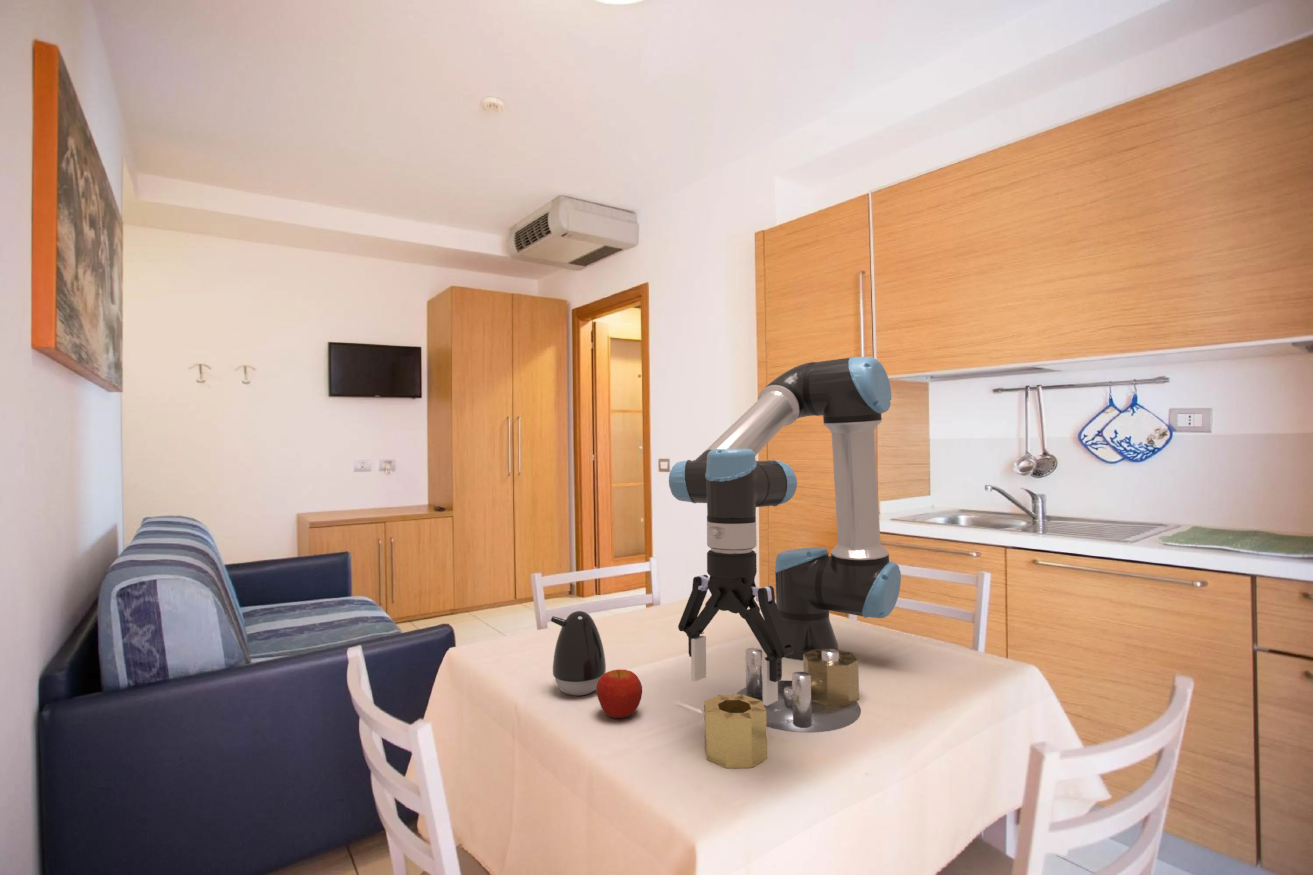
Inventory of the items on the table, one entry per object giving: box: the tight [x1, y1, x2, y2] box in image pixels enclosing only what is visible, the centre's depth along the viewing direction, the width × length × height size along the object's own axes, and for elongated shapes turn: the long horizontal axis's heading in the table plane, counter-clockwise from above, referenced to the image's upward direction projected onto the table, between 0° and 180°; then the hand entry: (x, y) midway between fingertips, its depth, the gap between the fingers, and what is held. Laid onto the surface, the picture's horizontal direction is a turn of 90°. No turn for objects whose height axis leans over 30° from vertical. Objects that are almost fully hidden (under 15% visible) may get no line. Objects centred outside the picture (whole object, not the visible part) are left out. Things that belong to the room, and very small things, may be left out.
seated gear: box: [802, 649, 860, 706], centre depth 113 cm, size 9×9×7 cm
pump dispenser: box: [550, 610, 607, 697], centre depth 119 cm, size 10×10×15 cm
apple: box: [596, 668, 643, 719], centre depth 108 cm, size 8×8×8 cm
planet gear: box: [703, 693, 768, 769], centre depth 94 cm, size 9×9×7 cm
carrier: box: [735, 647, 862, 734], centre depth 110 cm, size 22×22×9 cm
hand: (732, 690), depth 94 cm, fingers open, 13 cm apart
